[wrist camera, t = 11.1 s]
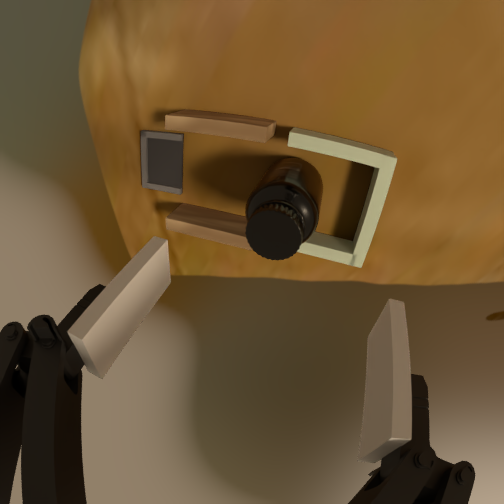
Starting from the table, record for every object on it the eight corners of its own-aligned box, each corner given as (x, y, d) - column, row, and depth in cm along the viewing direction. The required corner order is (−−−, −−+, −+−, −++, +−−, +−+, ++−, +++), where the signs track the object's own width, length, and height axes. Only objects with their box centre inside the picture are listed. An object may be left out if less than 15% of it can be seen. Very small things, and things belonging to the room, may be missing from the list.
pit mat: (143, 130, 35) (140, 131, 35) (183, 133, 34) (181, 134, 34) (144, 185, 40) (142, 187, 39) (182, 192, 39) (180, 194, 38)
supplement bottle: (255, 193, 36) (220, 245, 26) (280, 145, 32) (251, 180, 22) (305, 221, 36) (289, 283, 27) (335, 176, 32) (331, 224, 23)
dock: (294, 127, 30) (289, 131, 28) (392, 151, 29) (397, 158, 26) (276, 232, 38) (271, 245, 36) (360, 254, 36) (361, 267, 34)
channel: (184, 109, 32) (165, 115, 29) (276, 120, 31) (267, 127, 27) (182, 213, 40) (166, 229, 37) (260, 231, 39) (250, 250, 35)
